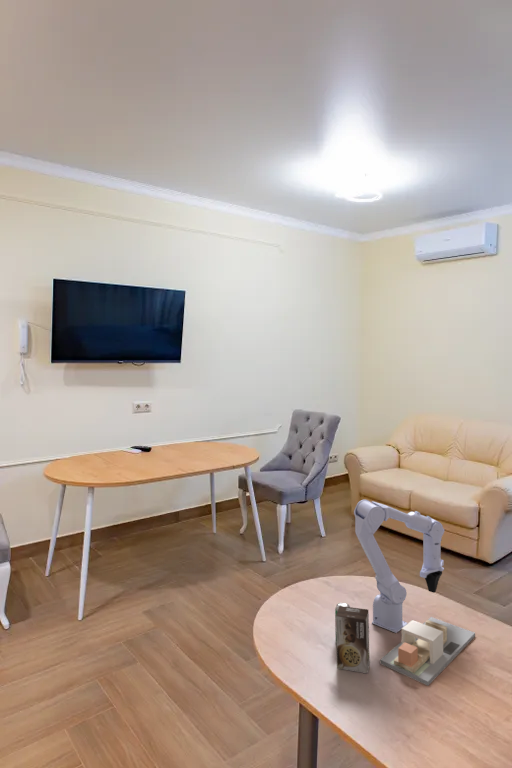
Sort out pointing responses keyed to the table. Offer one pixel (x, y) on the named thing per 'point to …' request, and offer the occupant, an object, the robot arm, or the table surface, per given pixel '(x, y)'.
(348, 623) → the cookie box
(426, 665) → the plate
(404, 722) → the table surface
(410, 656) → the block
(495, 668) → the table surface
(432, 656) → the tunnel
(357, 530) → the robot arm
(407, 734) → the table surface
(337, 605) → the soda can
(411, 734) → the table surface
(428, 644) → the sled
